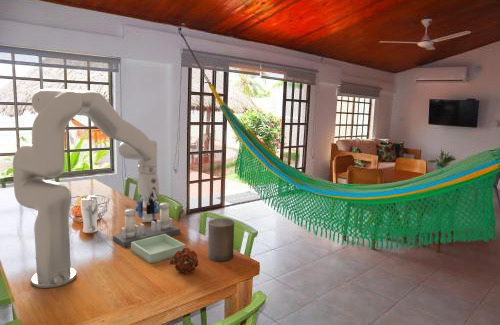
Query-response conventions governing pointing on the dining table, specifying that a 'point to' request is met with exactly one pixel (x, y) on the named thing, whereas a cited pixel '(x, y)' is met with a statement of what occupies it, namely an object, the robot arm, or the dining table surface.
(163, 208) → the ball
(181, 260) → the dark red rosette
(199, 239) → the dining table surface
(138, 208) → the grapes
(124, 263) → the dining table surface
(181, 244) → the tray
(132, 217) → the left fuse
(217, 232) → the pillar candle
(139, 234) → the fuse holder
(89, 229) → the beer glass
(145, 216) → the cylinder
